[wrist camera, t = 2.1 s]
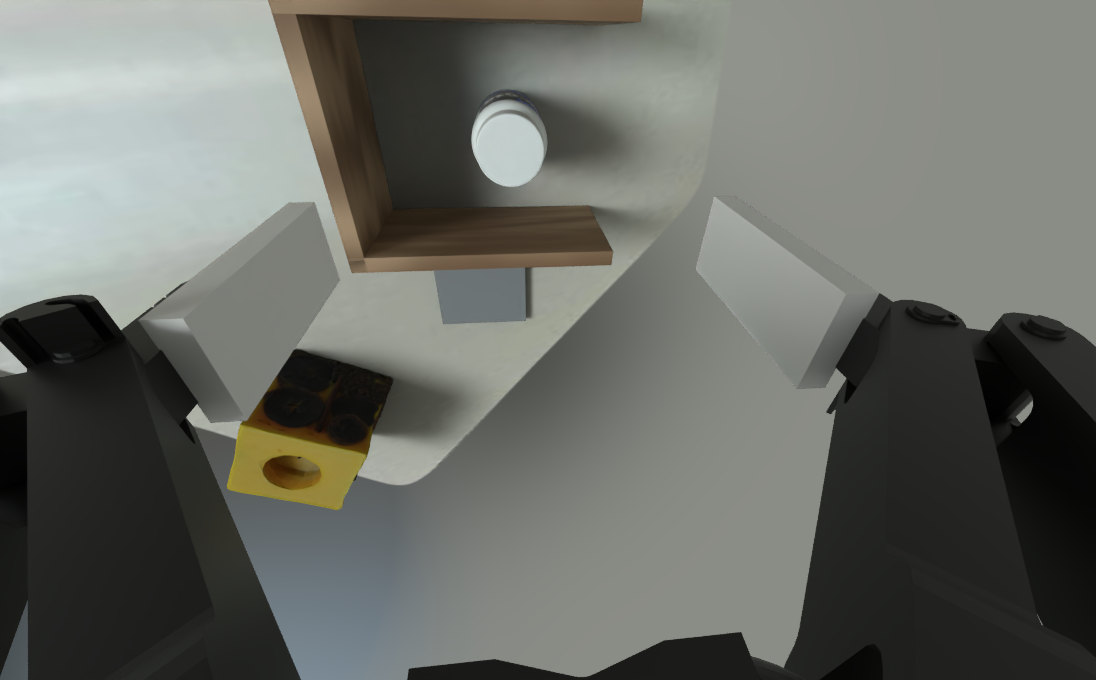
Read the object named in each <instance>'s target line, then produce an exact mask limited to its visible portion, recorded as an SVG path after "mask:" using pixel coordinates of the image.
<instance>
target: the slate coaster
mask: <svg viewBox="0 0 1096 680" xmlns="http://www.w3.org/2000/svg"><path fill="white" fill-rule="evenodd" d="M434 274H435V280H436V285H437V291H438V297H439V303H440V309H441V315H442V321H443V324H458V323H482V322H506V321H526V292H525V268H497V269H465V270H434Z"/></svg>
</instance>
